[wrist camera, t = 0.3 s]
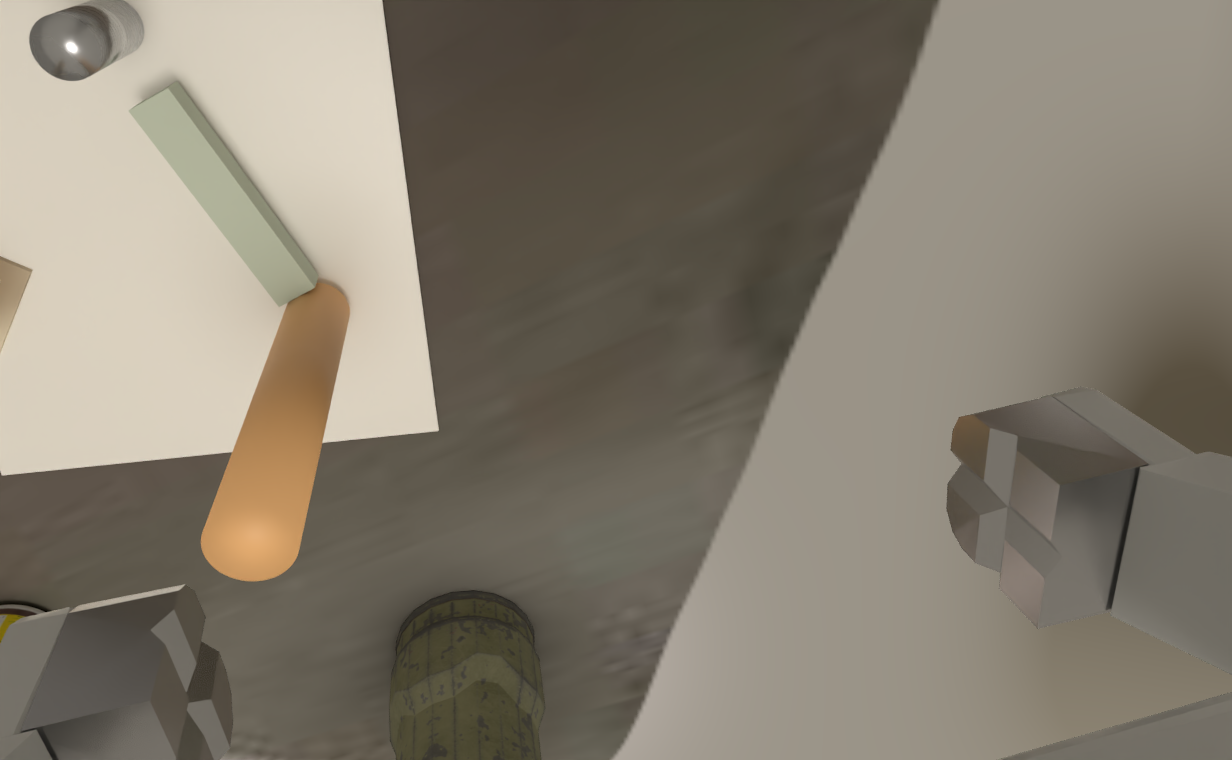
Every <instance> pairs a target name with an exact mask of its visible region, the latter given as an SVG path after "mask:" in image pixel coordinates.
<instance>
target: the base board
mask: <svg viewBox="0 0 1232 760" xmlns="http://www.w3.org/2000/svg"><path fill="white" fill-rule="evenodd" d="M88 1H91V0H0V256H1V257H3V258H6V259H8V260H11V261H13V262H15V263H18V264H20V265H23V266H25V267H27V268H30V269H32V270H33V271H32V273H31V276H30V279H29V281H28V284H27V286H26V289H25V291H24V294H23V297H22V299H21V302H20V304H19V307H18V309H17V312H16V315H15V317H14V320H13V322H12V325H11V327H10V330H9V333H8V335H7V338H6V340H5V343H4V345H3V348H2V351H1V353H0V471H1V474H2V475H11V474H20V473H30V472H40V471H50V470H60V469H69V468H79V467H89V466H99V465H109V464H118V463H128V462H138V461H148V460H158V459H167V458H177V457H187V456H197V455H207V454H217V453H226V452H233V449H234V446H235V444H236V441H237V438H238V436H239V433H240V430H241V427H242V425H243V422H244V419H245V417H246V414H247V411H248V409H249V406H250V403H251V401H252V398H253V395H254V392H255V390H256V387H257V384H258V382H259V379H260V376H261V374H262V371H263V368H264V366H265V363H266V360H267V357H268V355H269V352H270V349H271V347H272V344H273V341H274V339H275V336H276V333H277V330H278V328H279V325H280V322H281V320H282V317H283V314H284V312H285V309H286V306H287V304H288V303H286V304H284V305H282V306H280V307H278V305H277V304H276V303H275V301H274V300H273V299H272V297H271V296H270V295H269V294H268V292H267V291H266V290H265V288H264V287H263V286H262V284H261V283H260V282H259V280H258V279H257V278H256V277H255V275H254V274H253V273H252V271H251V270H250V269H249V267H248V266H247V265H246V264H245V262H244V261H243V260H242V258H241V257H240V256H239V254H238V253H237V252H236V251H235V249H234V248H233V247H232V245H231V244H230V243H229V241H228V240H227V239H226V237H225V236H224V235H223V234H222V232H221V231H220V230H219V228H218V227H217V226H216V224H215V223H214V222H213V221H212V219H211V218H210V217H209V215H208V214H207V213H206V211H205V210H204V209H203V208H202V206H201V205H200V204H199V202H198V201H197V200H196V198H195V197H194V196H193V195H192V193H191V192H190V191H189V189H188V188H187V187H186V185H185V184H184V183H183V181H182V180H181V179H180V178H179V176H178V175H177V174H176V172H175V171H174V170H173V168H172V167H171V166H170V165H169V163H168V162H167V161H166V159H165V158H164V157H163V155H162V154H161V153H160V152H159V150H158V149H157V148H156V146H155V145H154V144H153V142H152V141H151V140H150V139H149V137H148V136H147V135H146V133H145V132H144V131H143V129H142V128H141V127H140V125H139V124H138V123H137V122H136V120H135V119H134V118H133V116H132V115H131V114H130V112H129V110H130V109H131V108H133V107H134V106H136V105H137V104H138V103H140V102H142V101H143V100H145V99H147V98H149V97H150V96H152V95H154V94H156V93H157V92H159V91H161V90H162V89H164V88H166V87H168V86H169V85H171V84H173V83H175V82H176V81H178V83H179V84H180V85H181V87H182V88H183V90H184V91H185V92H186V94H187V95H188V96H189V98H190V99H191V101H192V102H193V103H194V105H195V106H196V107H197V109H198V110H199V112H200V113H201V114H202V116H203V117H204V118H205V120H206V121H207V123H208V124H209V125H210V127H211V128H212V129H213V131H214V132H215V134H216V135H217V136H218V138H219V139H220V140H221V142H222V143H223V145H224V146H225V147H226V149H227V150H228V151H229V153H230V154H231V156H232V157H233V158H234V160H235V161H236V162H237V164H238V165H239V167H240V168H241V169H242V171H243V172H244V173H245V175H246V176H247V178H248V179H249V180H250V182H251V183H252V184H253V186H254V187H255V189H256V190H257V191H258V193H259V194H260V195H261V197H262V198H263V199H264V201H265V202H266V204H267V205H268V206H269V208H270V209H271V210H272V212H273V213H274V215H275V216H276V217H277V219H278V220H279V221H280V223H281V224H282V226H283V227H284V228H285V230H286V231H287V232H288V234H289V235H290V237H291V238H292V239H293V241H294V242H295V243H296V245H297V246H298V248H299V249H300V250H301V252H302V253H303V254H304V256H305V257H306V259H307V260H308V261H309V263H310V264H311V265H312V267H313V268H314V270H315V271H316V272H317V274H318V275H319V276H318V279H317V283H324V284H328V285H330V286H333V287H334V288H336V289H337V290H339V291H340V292H341V293H342V294H343V295H344V296H345V298H346V299H347V302H348V304H349V308H350V317H349V322H348V327H347V331H346V336H345V340H344V345H343V350H342V354H341V359H340V363H339V368H338V373H337V377H336V382H335V386H334V391H333V396H332V400H331V405H330V409H329V414H328V419H327V423H326V428H325V432H324V437H323V442H322V443H324V442H334V441H344V440H354V439H364V438H373V437H383V436H393V435H403V434H413V433H423V432H432V431H439V426H438V419H437V411H436V404H435V396H434V388H433V381H432V373H431V366H430V358H429V350H428V343H427V335H426V328H425V320H424V312H423V305H422V297H421V290H420V282H419V274H418V267H417V259H416V252H415V244H414V236H413V229H412V221H411V214H410V206H409V198H408V191H407V183H406V176H405V168H404V160H403V153H402V145H401V138H400V130H399V122H398V115H397V107H396V100H395V92H394V84H393V77H392V69H391V62H390V54H389V46H388V39H387V31H386V24H385V16H384V8H383V1H382V0H124V1H125V2H127V3H128V4H130V5H131V6H132V7H133V8H134V9H135V10H136V11H137V13H138V14H139V16H140V17H141V19H142V22H143V25H144V39H143V42H142V44H141V45H140V47H139V48H138V49H137V50H136V51H134V52H133V53H131V54H129V55H127V56H126V57H124V58H122V59H120V60H118V61H117V62H115V63H113V64H111V65H109V66H107V67H106V68H104V69H102V70H100V71H98V72H97V73H95V74H93V75H91V76H89V77H87V78H85V79H83V80H79V81H65V80H61V79H59V78H56V77H54V76H52V75H50V74H49V73H47V72H46V71H45V70H44V69H43V68H42V67H41V66H40V65H39V64H38V63H37V61H36V60H35V58H34V56H33V54H32V52H31V49H30V44H29V36H30V31H31V29H32V27H33V25H34V24H35V23H36V22H37V21H38V20H39V19H40V18H42V17H44V16H46V15H49V14H52V13H55V12H58V11H61V10H64V9H67V8H70V7H73V6H76V5H79V4H82V3H85V2H88Z"/></svg>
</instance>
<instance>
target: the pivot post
mask: <svg viewBox="0 0 1232 760" xmlns="http://www.w3.org/2000/svg"><path fill="white" fill-rule="evenodd" d="M143 39H144V25H143V22H142V19H141V17H140V16H139V14H138V13H137V11H136V10H135V9H134V8H133V7H132V6H131V5H130V4H128V3H127V2H125V1H124V0H91V1H88V2H85V3H82V4H79V5H76V6H73V7H70V8H67V9H64V10H61V11H58V12H55V13H52V14H49V15H46V16H44V17H42V18H40V19H39V20H38V21H37V22H36V23H35V24H34V25H33V27H32V29H31V31H30V36H29V44H30V49H31V52H32V54H33V56H34V58H35V60H36V61H37V63H38V64H39V65H40V66H41V67H42V68H43V69H44V70H45V71H46V72H47V73H49V74H50V75H52V76H54V77H56V78H59V79H61V80H65V81H79V80H83V79H85V78H87V77H89V76H91V75H93V74H95V73H97V72H98V71H100V70H102V69H104V68H106V67H107V66H109V65H111V64H113V63H115V62H117V61H118V60H120V59H122V58H124V57H126V56H127V55H129V54H131V53H133V52H134V51H136V50H137V49H138V48H139V47H140V45H141V44H142V42H143Z"/></svg>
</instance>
